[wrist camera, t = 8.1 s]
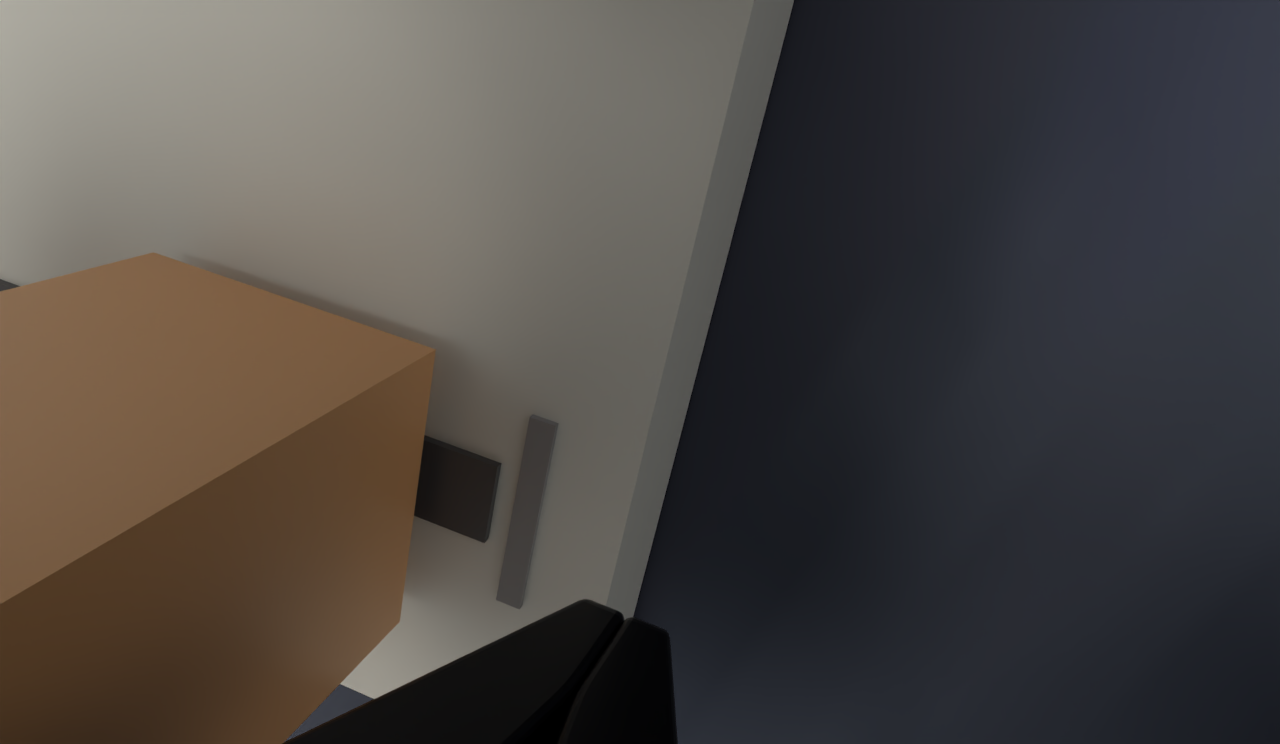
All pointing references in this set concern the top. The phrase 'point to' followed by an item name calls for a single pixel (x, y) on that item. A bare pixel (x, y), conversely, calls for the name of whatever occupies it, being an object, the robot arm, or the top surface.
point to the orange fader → (195, 504)
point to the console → (428, 236)
